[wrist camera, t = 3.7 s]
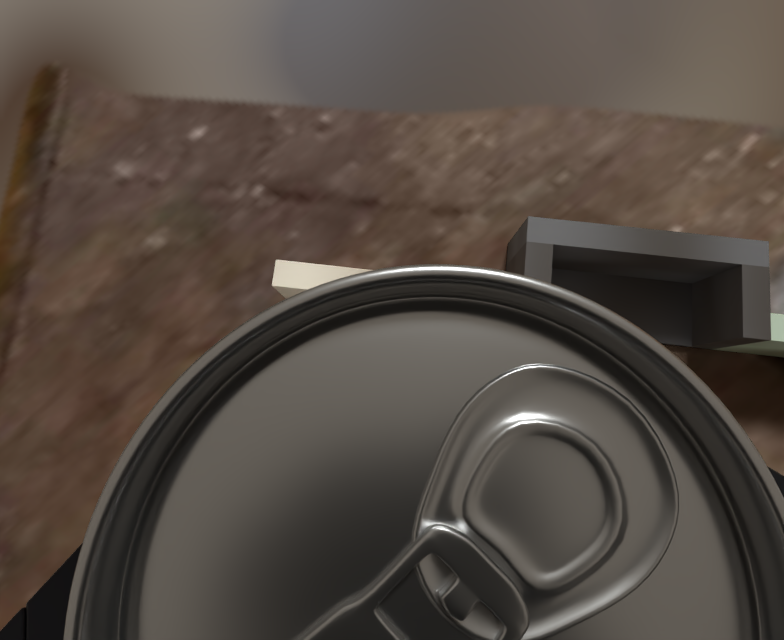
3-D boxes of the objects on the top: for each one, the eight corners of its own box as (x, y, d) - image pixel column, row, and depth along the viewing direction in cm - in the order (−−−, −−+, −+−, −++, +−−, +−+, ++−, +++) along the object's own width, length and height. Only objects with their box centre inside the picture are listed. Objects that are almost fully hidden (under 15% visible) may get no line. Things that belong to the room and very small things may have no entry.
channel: (231, 684, 14) (197, 746, 12) (303, 222, 16) (287, 191, 14) (964, 779, 13) (1091, 864, 11) (921, 287, 16) (1018, 267, 14)
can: (542, 448, 15) (1074, 626, 3) (407, 600, 14) (471, 1542, 3) (402, 314, 16) (427, 71, 4) (267, 451, 15) (-184, 640, 3)
